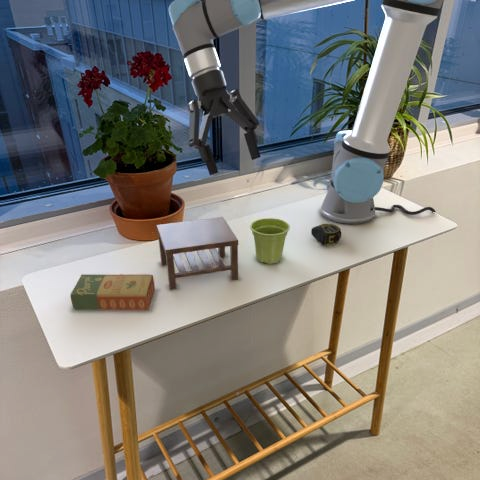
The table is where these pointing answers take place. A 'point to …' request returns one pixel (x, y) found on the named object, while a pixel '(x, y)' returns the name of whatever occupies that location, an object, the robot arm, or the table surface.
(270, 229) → the plant pot
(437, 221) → the table surface
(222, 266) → the coffee table
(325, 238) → the tape measure
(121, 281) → the carton
